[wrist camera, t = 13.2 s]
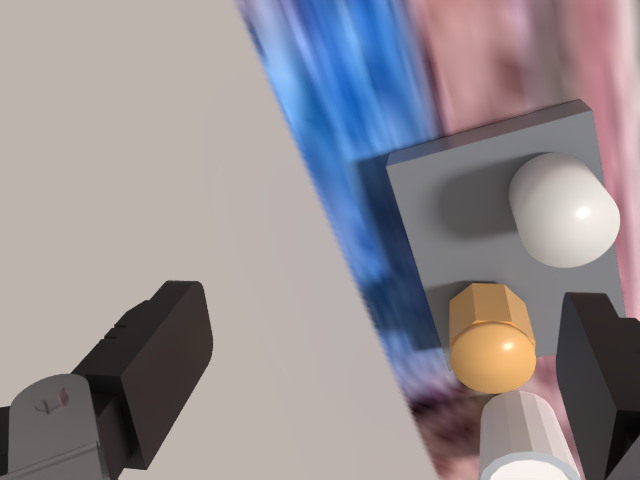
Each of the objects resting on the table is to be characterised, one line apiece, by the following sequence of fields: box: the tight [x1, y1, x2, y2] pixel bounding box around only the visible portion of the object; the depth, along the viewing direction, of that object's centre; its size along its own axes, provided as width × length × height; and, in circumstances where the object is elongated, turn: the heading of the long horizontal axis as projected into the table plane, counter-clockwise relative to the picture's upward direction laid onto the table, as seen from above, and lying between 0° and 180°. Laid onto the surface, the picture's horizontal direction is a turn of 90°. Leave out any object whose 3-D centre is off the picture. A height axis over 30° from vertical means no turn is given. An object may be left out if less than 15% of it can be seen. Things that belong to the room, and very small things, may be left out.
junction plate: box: [386, 99, 626, 371], centre depth 35 cm, size 16×12×9 cm
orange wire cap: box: [449, 283, 536, 394], centre depth 35 cm, size 5×5×5 cm
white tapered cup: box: [479, 391, 581, 480], centre depth 42 cm, size 7×7×7 cm
